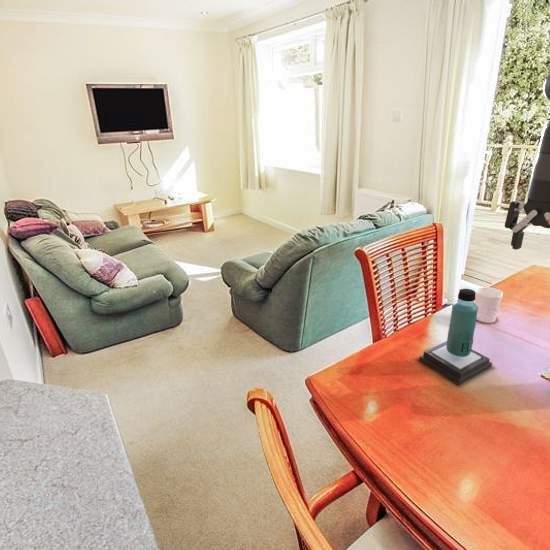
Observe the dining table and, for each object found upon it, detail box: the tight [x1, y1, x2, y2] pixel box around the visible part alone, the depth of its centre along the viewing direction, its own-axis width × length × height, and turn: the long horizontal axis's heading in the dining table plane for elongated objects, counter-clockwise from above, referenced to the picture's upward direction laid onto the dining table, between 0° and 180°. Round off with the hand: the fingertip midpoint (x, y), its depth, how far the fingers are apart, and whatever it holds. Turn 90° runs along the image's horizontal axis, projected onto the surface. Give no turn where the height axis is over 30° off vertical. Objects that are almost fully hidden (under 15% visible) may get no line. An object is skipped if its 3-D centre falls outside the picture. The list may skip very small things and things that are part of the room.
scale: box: [418, 340, 493, 386], centre depth 106 cm, size 14×13×3 cm
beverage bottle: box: [446, 288, 478, 357], centre depth 101 cm, size 6×7×20 cm
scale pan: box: [431, 345, 482, 370], centre depth 106 cm, size 9×9×2 cm
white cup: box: [474, 286, 504, 324], centre depth 127 cm, size 8×8×10 cm
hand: (536, 253), depth 79 cm, fingers open, 8 cm apart
